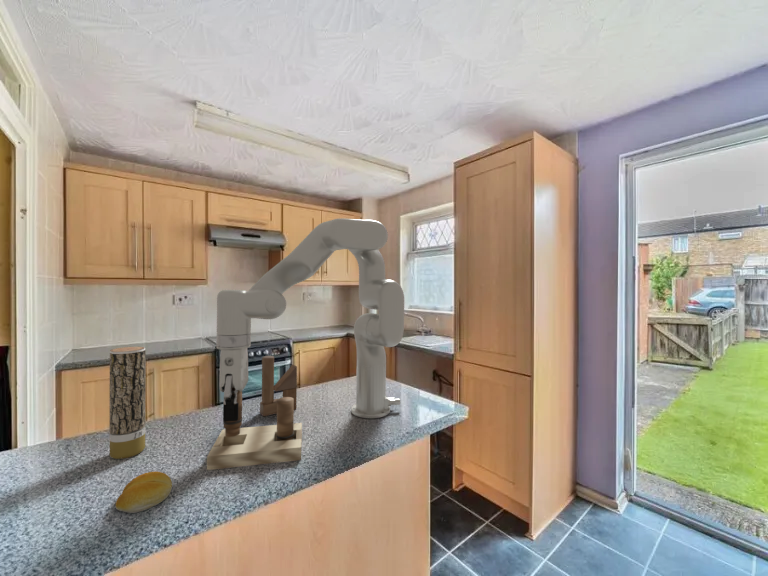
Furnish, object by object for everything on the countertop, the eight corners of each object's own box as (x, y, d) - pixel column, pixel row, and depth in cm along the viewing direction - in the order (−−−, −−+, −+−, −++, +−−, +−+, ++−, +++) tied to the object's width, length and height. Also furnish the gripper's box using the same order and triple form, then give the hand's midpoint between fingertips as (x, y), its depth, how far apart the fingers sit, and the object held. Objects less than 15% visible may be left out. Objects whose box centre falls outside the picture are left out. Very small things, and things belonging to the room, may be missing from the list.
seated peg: (294, 442, 86) (294, 396, 86) (293, 450, 82) (293, 401, 81) (277, 444, 85) (277, 397, 85) (275, 452, 81) (275, 403, 80)
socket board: (301, 433, 91) (301, 422, 91) (301, 460, 77) (301, 447, 77) (222, 440, 86) (222, 429, 86) (206, 470, 73) (206, 456, 73)
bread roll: (109, 520, 57) (109, 497, 57) (128, 490, 66) (128, 470, 66) (165, 509, 60) (165, 487, 60) (176, 481, 69) (176, 462, 69)
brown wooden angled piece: (296, 409, 108) (297, 354, 108) (263, 417, 102) (263, 358, 102) (292, 406, 111) (293, 352, 111) (259, 413, 105) (260, 356, 105)
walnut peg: (243, 429, 83) (244, 381, 83) (240, 436, 79) (240, 386, 79) (225, 430, 82) (225, 382, 82) (221, 438, 78) (221, 387, 78)
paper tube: (105, 463, 75) (106, 352, 75) (113, 449, 81) (113, 347, 81) (142, 456, 78) (142, 350, 78) (147, 444, 84) (147, 345, 84)
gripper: (244, 346, 73) (243, 430, 73) (255, 335, 89) (254, 403, 89) (206, 347, 71) (205, 433, 71) (225, 336, 87) (224, 405, 87)
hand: (232, 416), depth 80 cm, fingers closed on walnut peg, 4 cm apart
